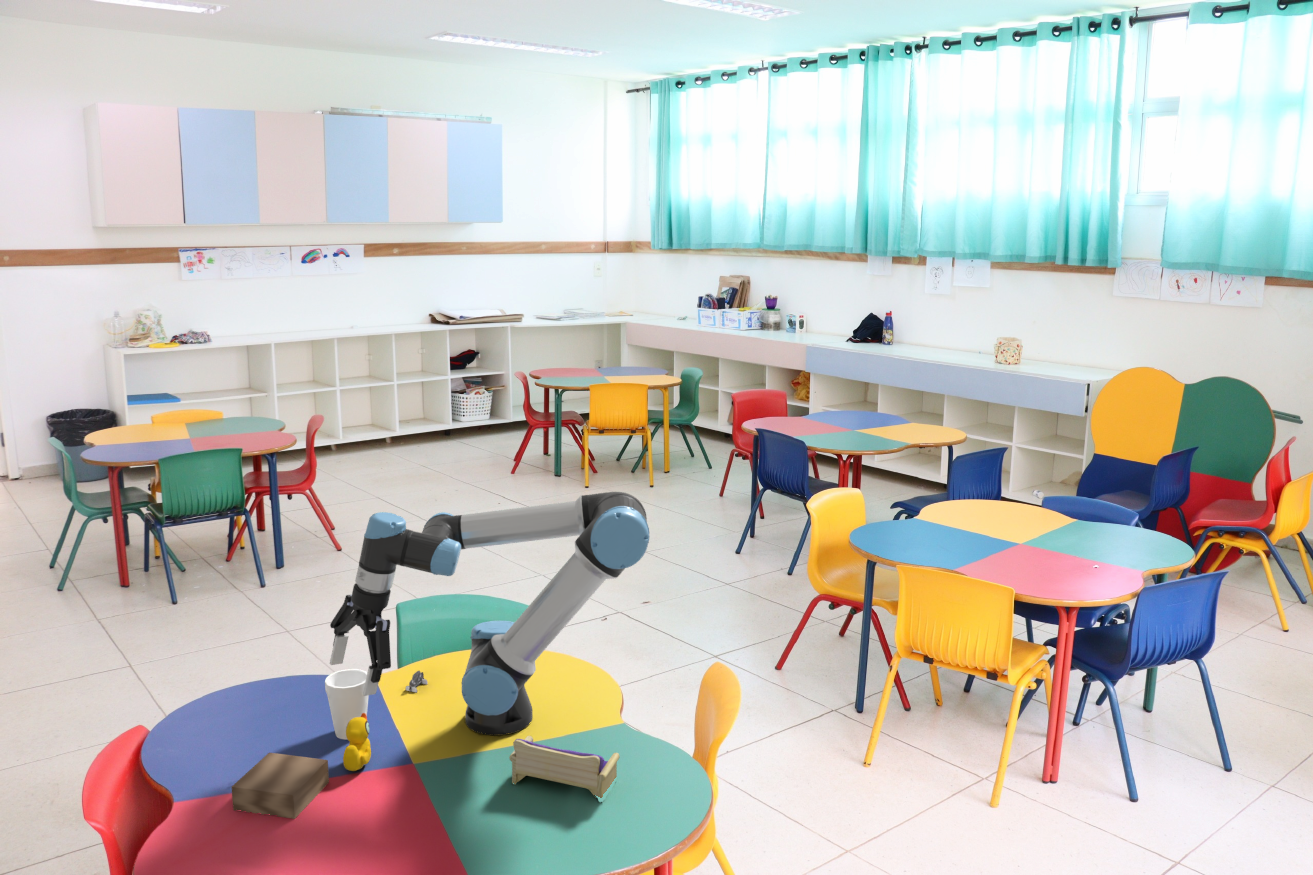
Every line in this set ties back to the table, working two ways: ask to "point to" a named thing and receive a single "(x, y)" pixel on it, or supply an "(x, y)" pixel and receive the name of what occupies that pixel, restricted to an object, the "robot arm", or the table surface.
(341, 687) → the foam cup
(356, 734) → the duckling
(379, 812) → the table surface
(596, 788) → the toy sofa
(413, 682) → the grey toy animal
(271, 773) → the walnut base
